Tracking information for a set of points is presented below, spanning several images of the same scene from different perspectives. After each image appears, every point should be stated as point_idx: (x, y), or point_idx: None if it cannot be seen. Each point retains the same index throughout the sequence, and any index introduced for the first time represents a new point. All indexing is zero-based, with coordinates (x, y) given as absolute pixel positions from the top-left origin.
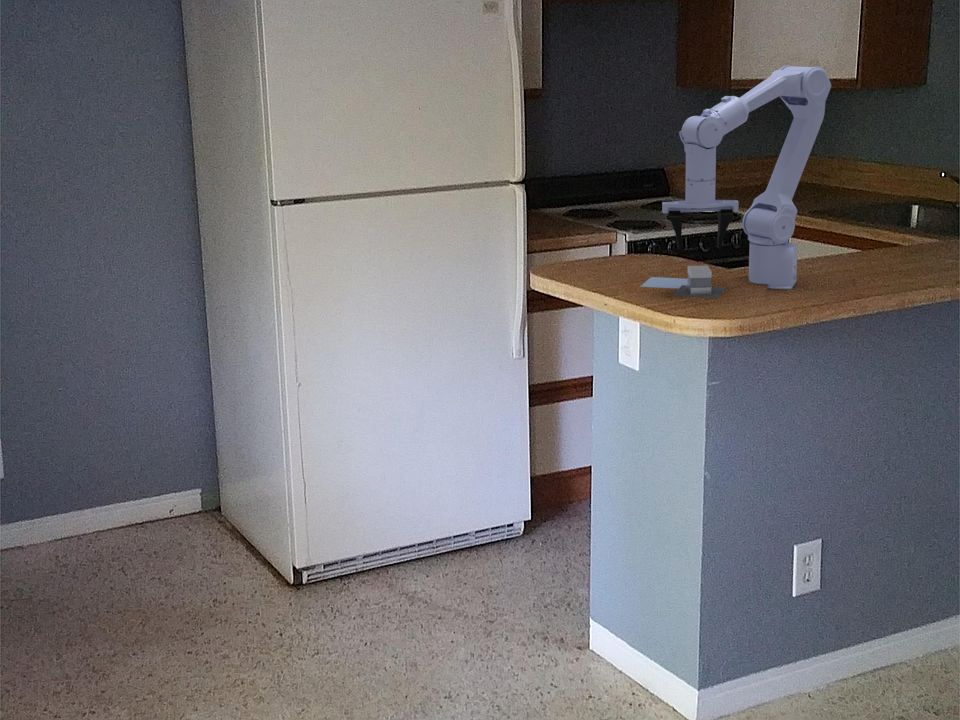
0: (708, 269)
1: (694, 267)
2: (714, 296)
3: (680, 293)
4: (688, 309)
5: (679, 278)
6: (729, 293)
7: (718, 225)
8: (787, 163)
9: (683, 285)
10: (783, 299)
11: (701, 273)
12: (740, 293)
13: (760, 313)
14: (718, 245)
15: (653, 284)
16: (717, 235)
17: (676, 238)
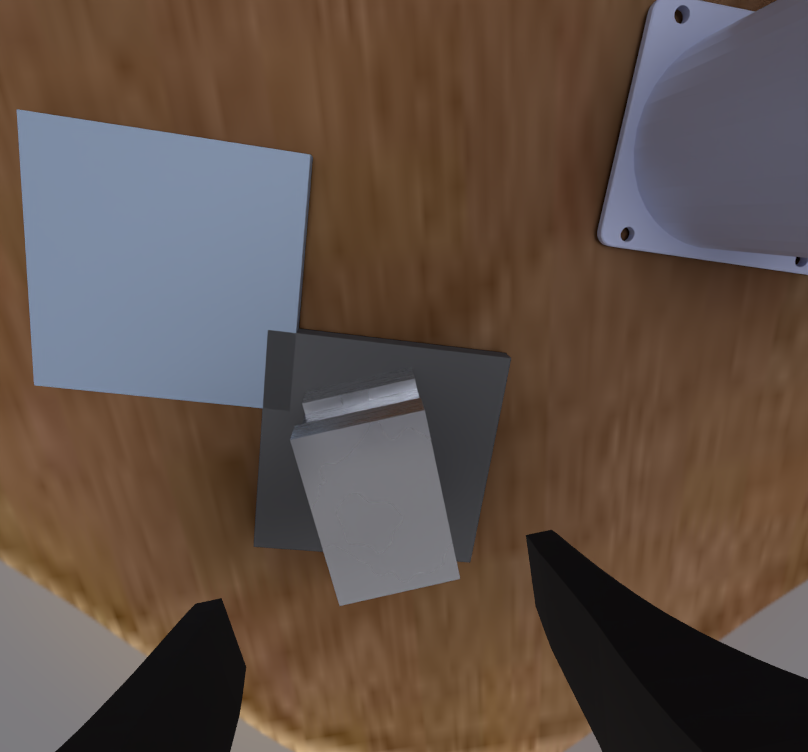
0: (437, 520)
1: (342, 474)
2: (457, 541)
3: (290, 506)
4: (356, 655)
5: (216, 141)
6: (519, 366)
7: (624, 707)
8: None
9: (275, 333)
10: (751, 449)
11: (400, 586)
12: (571, 360)
13: None
14: (547, 634)
15: (97, 328)
16: (564, 586)
17: (144, 664)
